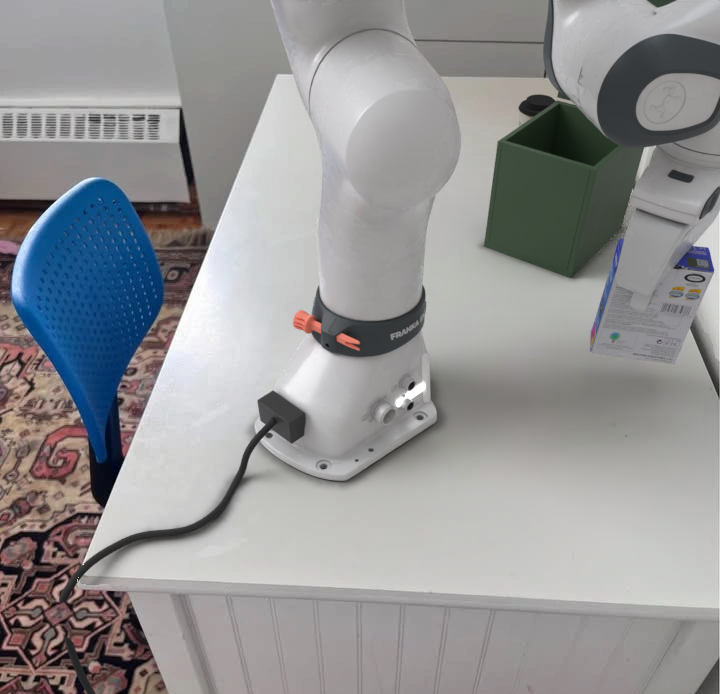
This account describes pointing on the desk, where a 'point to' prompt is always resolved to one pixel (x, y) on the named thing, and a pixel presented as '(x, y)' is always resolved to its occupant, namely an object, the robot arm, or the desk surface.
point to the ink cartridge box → (652, 311)
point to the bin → (558, 190)
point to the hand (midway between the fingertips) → (653, 290)
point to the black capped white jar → (533, 106)
